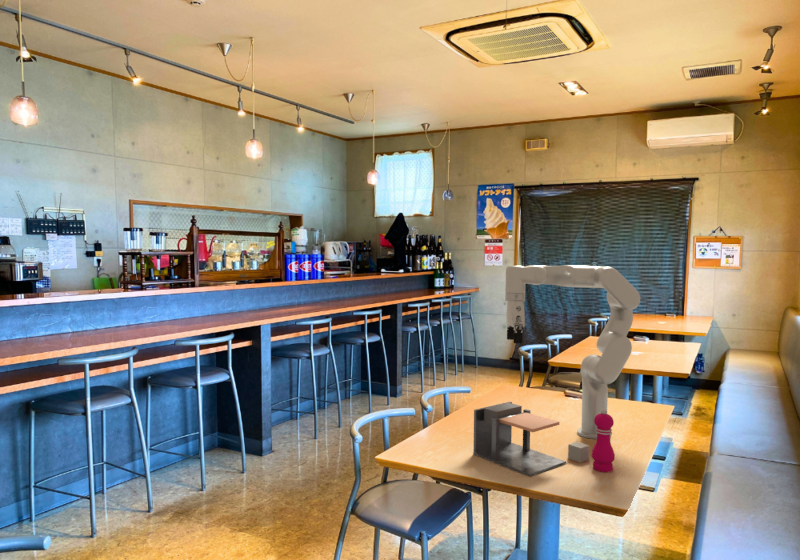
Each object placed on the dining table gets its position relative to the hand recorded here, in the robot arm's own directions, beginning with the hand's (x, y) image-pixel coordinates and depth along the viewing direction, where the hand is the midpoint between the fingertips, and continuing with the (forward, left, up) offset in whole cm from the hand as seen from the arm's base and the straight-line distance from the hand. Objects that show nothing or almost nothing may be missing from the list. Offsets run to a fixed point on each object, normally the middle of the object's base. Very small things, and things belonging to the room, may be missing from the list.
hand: (514, 341), depth 218 cm
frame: (+18, +18, -37) cm, 45 cm away
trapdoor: (+18, +19, -26) cm, 36 cm away
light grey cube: (+1, +30, -37) cm, 48 cm away
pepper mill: (+3, +41, -37) cm, 55 cm away
